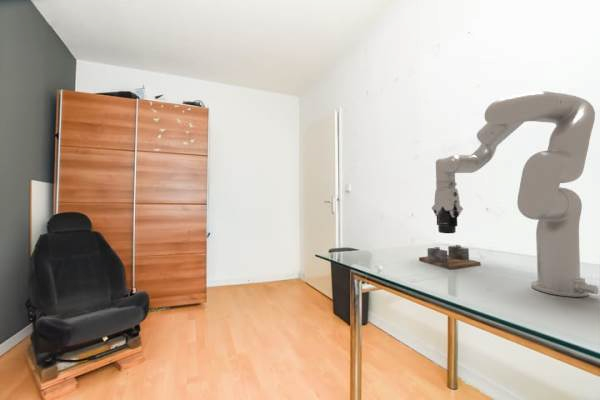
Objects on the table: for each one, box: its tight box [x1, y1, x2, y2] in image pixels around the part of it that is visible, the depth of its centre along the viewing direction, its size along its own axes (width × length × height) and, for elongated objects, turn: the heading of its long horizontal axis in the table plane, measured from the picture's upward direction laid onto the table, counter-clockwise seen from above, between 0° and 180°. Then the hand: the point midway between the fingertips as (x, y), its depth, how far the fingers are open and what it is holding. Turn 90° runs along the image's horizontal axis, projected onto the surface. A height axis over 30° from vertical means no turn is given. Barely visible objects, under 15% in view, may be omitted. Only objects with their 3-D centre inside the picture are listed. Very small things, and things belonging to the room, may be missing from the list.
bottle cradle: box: [418, 244, 481, 270], centre depth 120 cm, size 18×16×8 cm
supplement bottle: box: [437, 206, 457, 234], centre depth 120 cm, size 7×7×12 cm
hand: (446, 225), depth 120 cm, fingers closed on supplement bottle, 6 cm apart
